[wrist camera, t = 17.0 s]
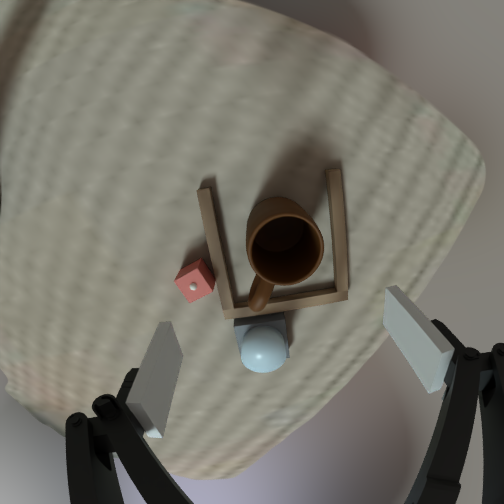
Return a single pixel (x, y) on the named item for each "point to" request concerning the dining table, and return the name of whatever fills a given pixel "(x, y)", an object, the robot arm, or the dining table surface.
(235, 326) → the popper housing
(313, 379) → the dining table surface
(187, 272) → the die
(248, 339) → the dome
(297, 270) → the mug
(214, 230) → the bay
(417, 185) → the dining table surface
